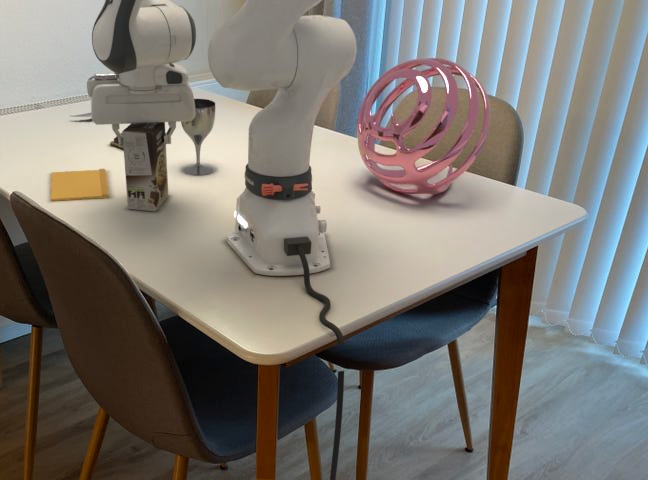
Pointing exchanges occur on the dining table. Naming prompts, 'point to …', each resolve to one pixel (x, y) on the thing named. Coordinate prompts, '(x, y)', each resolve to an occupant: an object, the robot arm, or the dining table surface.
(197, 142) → the wine glass
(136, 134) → the coffee box
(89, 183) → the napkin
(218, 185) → the dining table surface
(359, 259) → the dining table surface
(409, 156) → the spiral basket
